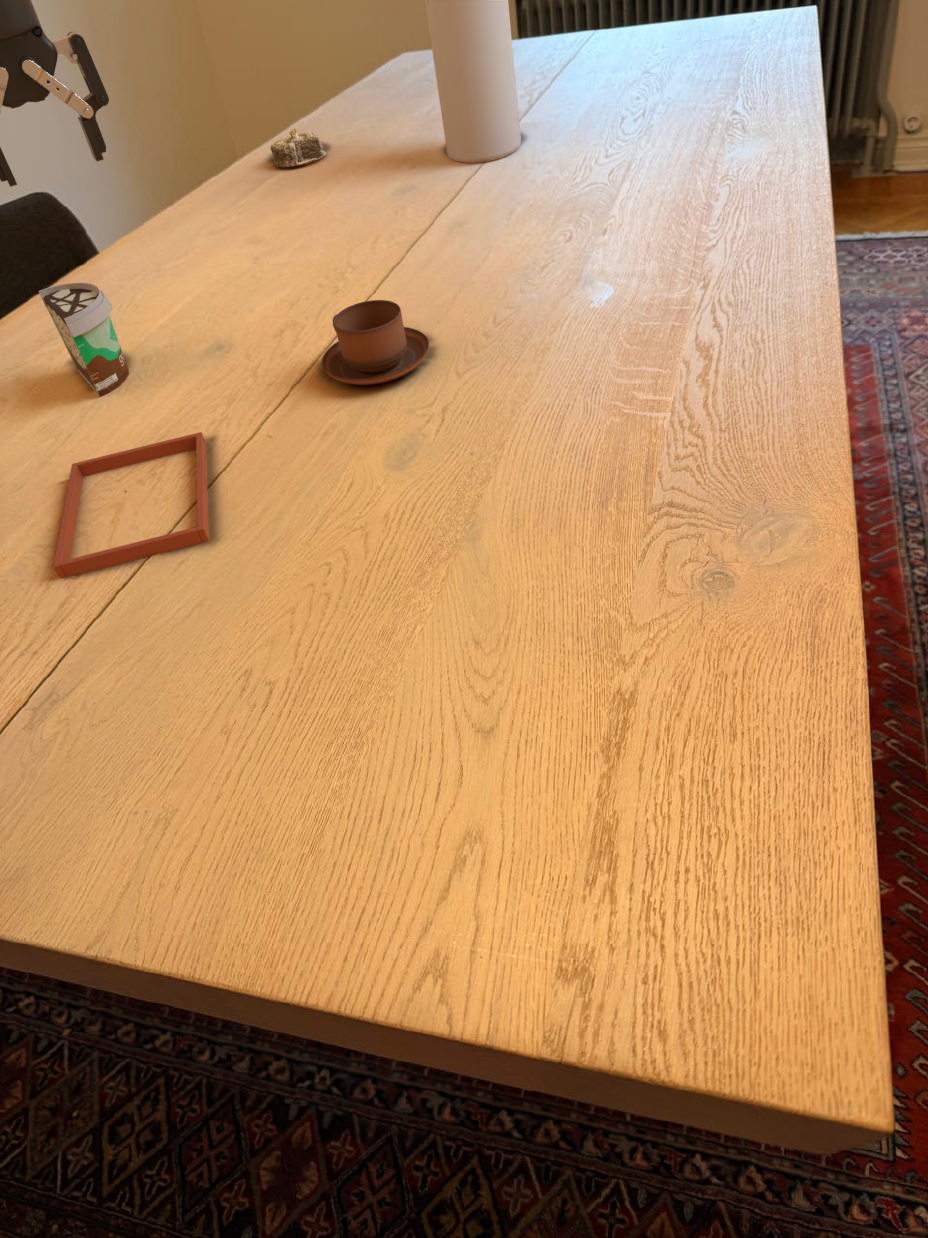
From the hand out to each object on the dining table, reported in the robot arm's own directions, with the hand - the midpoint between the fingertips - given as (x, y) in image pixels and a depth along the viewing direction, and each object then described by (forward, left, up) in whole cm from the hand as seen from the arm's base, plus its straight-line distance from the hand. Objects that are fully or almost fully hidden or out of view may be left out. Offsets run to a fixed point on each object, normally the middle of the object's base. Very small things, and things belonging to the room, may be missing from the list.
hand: (56, 171), depth 89 cm
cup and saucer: (+26, -8, -24) cm, 37 cm away
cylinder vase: (+55, +59, -24) cm, 85 cm away
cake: (+25, +78, -24) cm, 86 cm away
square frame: (0, -26, -24) cm, 35 cm away
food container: (-5, +7, -24) cm, 26 cm away
